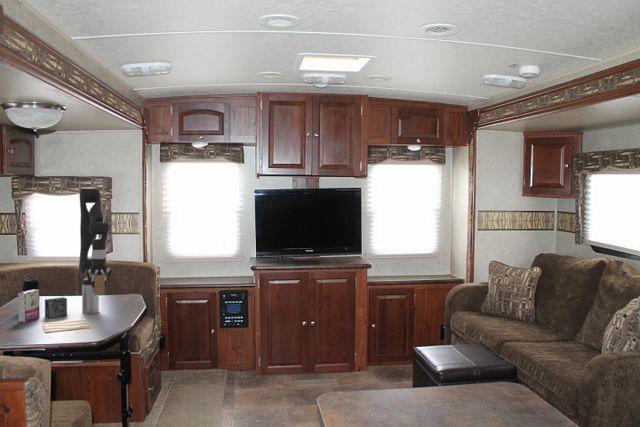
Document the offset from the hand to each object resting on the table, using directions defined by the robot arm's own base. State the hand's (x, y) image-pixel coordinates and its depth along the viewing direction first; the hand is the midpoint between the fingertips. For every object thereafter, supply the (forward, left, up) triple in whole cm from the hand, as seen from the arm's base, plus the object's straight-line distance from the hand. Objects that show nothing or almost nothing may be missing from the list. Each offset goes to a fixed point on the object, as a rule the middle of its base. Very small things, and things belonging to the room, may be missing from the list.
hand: (98, 287), depth 301 cm
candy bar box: (-19, -34, -19) cm, 43 cm away
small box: (-22, -20, -19) cm, 35 cm away
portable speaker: (-42, -32, -19) cm, 56 cm away
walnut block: (0, 0, -3) cm, 3 cm away
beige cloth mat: (+5, -17, -19) cm, 26 cm away
